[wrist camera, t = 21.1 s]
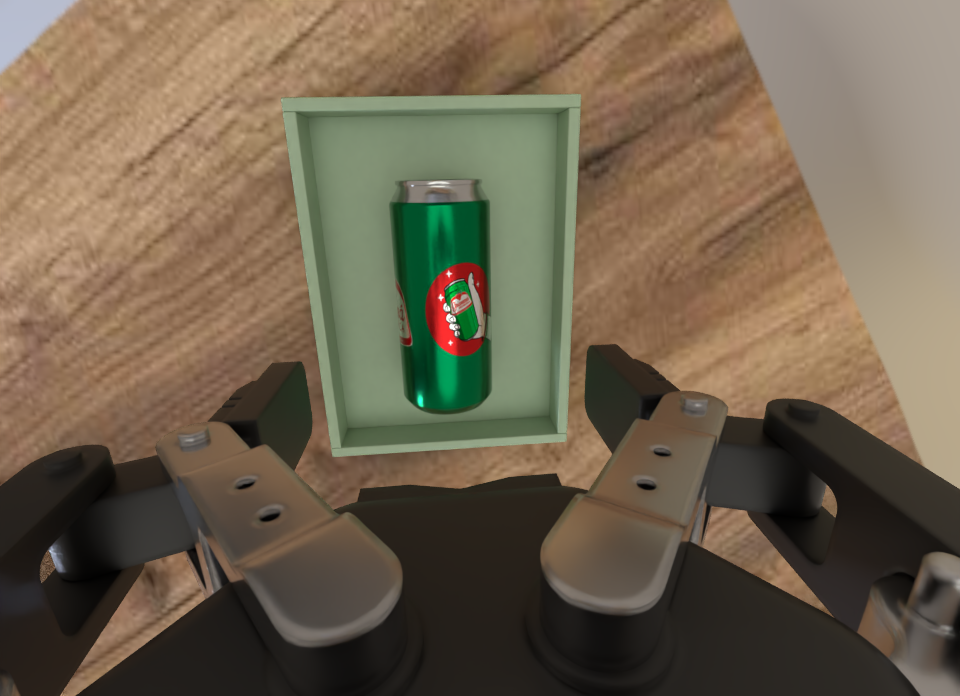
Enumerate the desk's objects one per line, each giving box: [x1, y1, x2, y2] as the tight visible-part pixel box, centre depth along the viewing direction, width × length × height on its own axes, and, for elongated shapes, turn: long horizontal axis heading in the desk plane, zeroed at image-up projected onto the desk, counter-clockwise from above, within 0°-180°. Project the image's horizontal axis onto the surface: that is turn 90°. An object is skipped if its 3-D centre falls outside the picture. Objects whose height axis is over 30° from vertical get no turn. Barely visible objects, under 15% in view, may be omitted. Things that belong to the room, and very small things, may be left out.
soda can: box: [389, 179, 492, 415], centre depth 26 cm, size 5×5×12 cm
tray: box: [281, 94, 581, 457], centre depth 27 cm, size 19×14×3 cm
